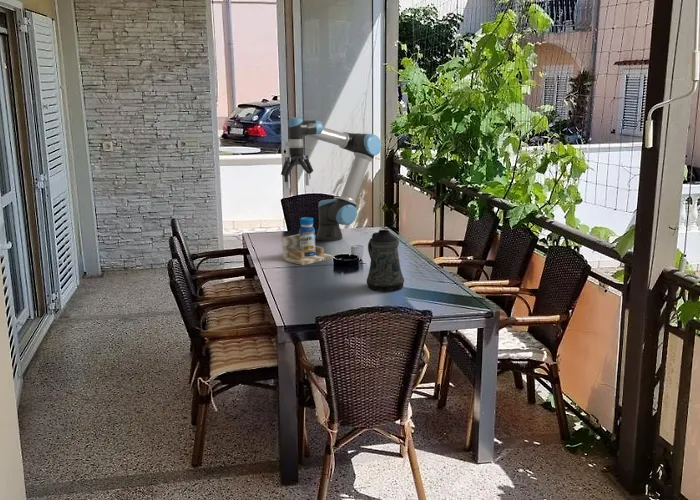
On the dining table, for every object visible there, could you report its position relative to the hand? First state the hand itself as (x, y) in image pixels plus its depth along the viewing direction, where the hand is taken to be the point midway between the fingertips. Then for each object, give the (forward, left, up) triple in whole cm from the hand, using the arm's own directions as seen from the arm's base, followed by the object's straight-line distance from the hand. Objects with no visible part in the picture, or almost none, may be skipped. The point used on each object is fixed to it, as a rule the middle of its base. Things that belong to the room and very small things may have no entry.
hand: (297, 186), depth 368 cm
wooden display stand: (+11, +20, -35) cm, 42 cm away
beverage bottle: (+11, +20, -33) cm, 40 cm away
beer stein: (+21, +84, -35) cm, 93 cm away
